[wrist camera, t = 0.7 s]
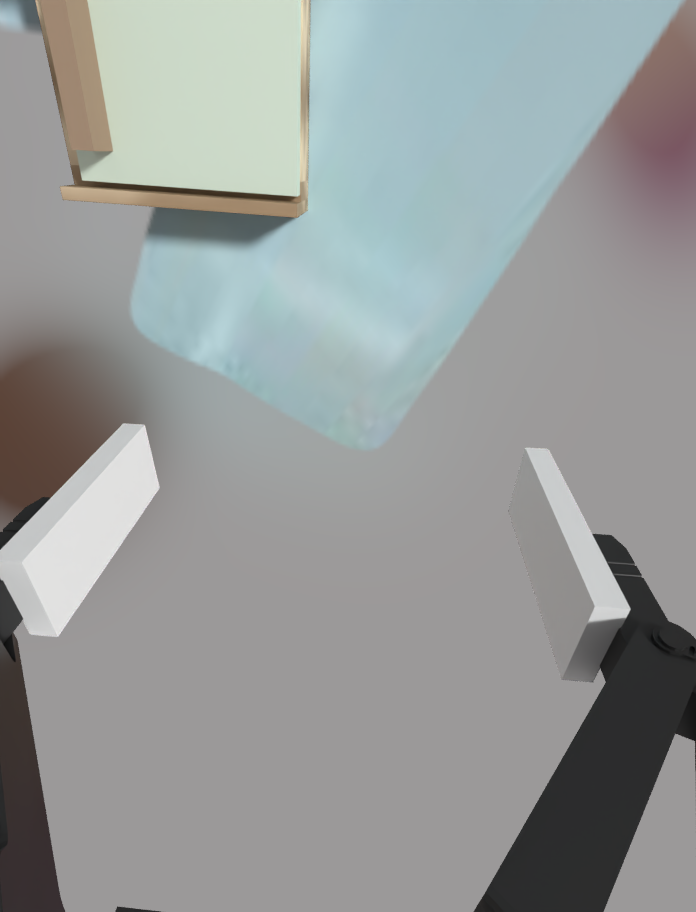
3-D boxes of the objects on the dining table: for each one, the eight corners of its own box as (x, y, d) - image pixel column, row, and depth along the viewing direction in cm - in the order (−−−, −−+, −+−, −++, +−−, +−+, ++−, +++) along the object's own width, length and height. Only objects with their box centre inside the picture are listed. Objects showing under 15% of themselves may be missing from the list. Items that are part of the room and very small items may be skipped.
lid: (45, -57, 27) (1, -84, 24) (301, -42, 27) (289, -67, 24) (91, 179, 33) (61, 181, 30) (300, 195, 33) (290, 199, 30)
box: (48, -68, 29) (-7, -104, 25) (311, -53, 28) (298, -87, 24) (99, 194, 36) (62, 199, 32) (307, 210, 36) (297, 217, 32)
